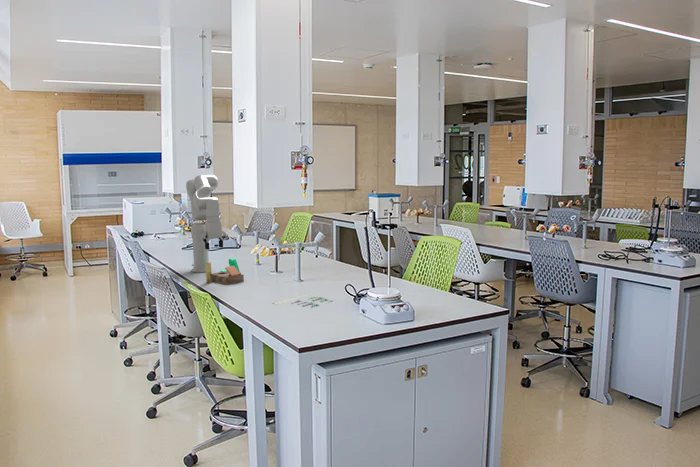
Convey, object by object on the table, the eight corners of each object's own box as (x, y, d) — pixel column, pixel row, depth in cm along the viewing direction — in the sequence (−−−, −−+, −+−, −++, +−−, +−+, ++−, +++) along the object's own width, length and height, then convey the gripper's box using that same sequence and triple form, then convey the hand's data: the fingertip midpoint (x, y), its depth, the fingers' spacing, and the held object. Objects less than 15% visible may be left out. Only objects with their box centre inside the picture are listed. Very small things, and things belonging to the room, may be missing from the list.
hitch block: (210, 280, 344) (210, 271, 343) (226, 277, 353) (226, 268, 352) (227, 284, 333) (226, 275, 332) (243, 281, 342) (243, 272, 341)
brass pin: (205, 282, 338) (204, 262, 336) (209, 281, 340) (209, 262, 339) (208, 283, 336) (207, 263, 334) (212, 282, 338) (211, 262, 337)
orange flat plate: (225, 268, 338) (225, 267, 337) (233, 267, 342) (233, 265, 342) (231, 276, 334) (231, 275, 334) (239, 274, 339) (240, 273, 338)
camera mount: (219, 274, 363) (219, 258, 362) (230, 272, 368) (230, 257, 367) (229, 277, 354) (228, 261, 353) (239, 275, 359) (239, 259, 358)
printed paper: (312, 293, 311) (312, 290, 311) (355, 302, 292) (355, 300, 292) (272, 303, 288) (272, 301, 288) (315, 315, 269) (315, 312, 269)
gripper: (221, 218, 343) (222, 246, 345) (196, 220, 330) (198, 249, 332) (229, 218, 338) (230, 247, 340) (204, 221, 325) (205, 250, 327)
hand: (214, 248), depth 336 cm, fingers open, 9 cm apart
